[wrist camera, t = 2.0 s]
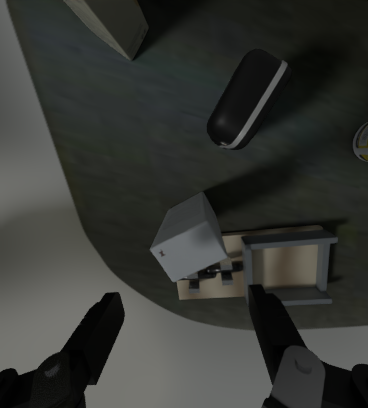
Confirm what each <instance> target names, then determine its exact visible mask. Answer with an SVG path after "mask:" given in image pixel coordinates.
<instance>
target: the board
mask: <svg viewBox="0 0 368 408" xmlns="http://www.w3.org/2000/svg"><path fill="white" fill-rule="evenodd" d="M312 230H323V227H321V226H320V225H312V226H301V227H289V228H278V229H267V230H256V231H244V232H233V233H222V234H221V235H222V238H223V241H224V245H225V248H226V251H227V254H228V255H229V256H230V259H231V263H232V264H236V263H239V264H241V265H242V266H243V264H242V246H241V237H243V236H254V235H266V234H277V233H289V232H301V231H312ZM317 254H318V245H305V246H292V247H279V248H266V249H254V250H251V255H252V279H253V284H262V286H263V288H264V290H265V289H284V288H302V287H315V285H316V269H317ZM212 265H220V262H217V263H215V264H212ZM199 271H206V268H204V269H202V270H199ZM231 274H232V278H233V284H234V285H224V286H222V280H221V274H220V273H217V276H216V277H215V278H212V279H200V293H192V294H189V280H180V281H177V287H178V292H179V298H180V300H181V299H201V298H220V297H240V296H245V295H244V281H243V270H242V271H240V272H231Z"/></svg>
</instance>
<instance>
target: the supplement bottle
mask: <svg viewBox="0 0 368 408" xmlns="http://www.w3.org/2000/svg"><path fill="white" fill-rule="evenodd" d="M353 150H354V153H355V154H356V156H357V157H358V158H359V159H361V160H363V161H366V162H368V122H366V123H365V124H364V125H362V126H361V127H360V129H359V130H358V131H357V133H356V134H355V137H354V139H353Z"/></svg>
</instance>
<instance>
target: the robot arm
mask: <svg viewBox="0 0 368 408" xmlns="http://www.w3.org/2000/svg"><path fill="white" fill-rule="evenodd" d="M248 301H249V311H250V316H251V319H252V322H253V326H254V329H255V332H256V335H257V338H258V341H259V345H260V348H261V351H262V354H263V357H264V360H265V363H266V367H267V370H268V373H269V376H270V379H271V382H272V385H273V388H272V391H271V393H270V396H269V398H266V399H265V400H264V403H263V405H262V408H368V365H367V364H357V365H355V366H354V367H353V368H352V371H349V370H346V369H342V368H339V367H335V366H332V365H329V364H327V363H325V362H323V361H321V360H320V359H319V358H318V357H317V356H316V355H315V354H314V353H313V352H311V351H310V350H309V349H308V348H307V347H306V345H305V343H304V341H303V340H302V338H301V336H300V334H299V333H298V331H297V329H296V327H295V325H294V323H293V322H292V320H291V318H290V317H289V314H288V312H287V311H286V310H285V307H284V305H283V303H282V302H281V300H280V299H279V298H278V297H277V296H276V295H274V294H273V293H266V292H265V290H264V288H263V286H262V284H252V285H248ZM124 317H125V312H124V308H123V304H122V301H121V297H120V294H119V293H118V292H113V293H105V295H104V296H103V298H102V299H101V301H100V302H97V303H96V304H95V305H93V307H91V308H90V309H89V311H88V312H87V313H86V315H85V316H84V319H82V321H81V322H80V324H79V325H78V327H77V328H76V330H75V331H74V332H73V334H72V335H71V337H70V338H69V340H68V341H67V343H66V344H65V345H64V347H63V348H62V350H61V351H60V352H58V353H55V354H53V355H52V356H50V357H48V358H47V359H46V360H44V362H42V363H41V365H40V366H39V367H38V368H37V369H36V370H33V371H30V372H27V373H24V374H22V375H18V373H17V371H16V370H15V369H13V368H10V369H5V370H3V371H1V372H0V408H86V402H85V395H84V391H85V389H86V387H87V385H96V384H97V382H98V379H99V377H100V375H101V373H102V370H103V368H104V366H105V363H106V361H107V359H108V356H109V354H110V352H111V350H112V347H113V345H114V343H115V340H116V338H117V336H118V333H119V331H120V329H121V326H122V324H123V322H124Z"/></svg>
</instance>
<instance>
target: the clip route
mask: <svg viewBox="0 0 368 408" xmlns="http://www.w3.org/2000/svg"><path fill="white" fill-rule="evenodd" d="M219 262H220V265H210V266H208V267H206V271H197V272H195V273H193V274H191V275H189V276H187V277H184V278H182V279H180V280H189V294H192V293H200V279H212V278H215V277H216V276H217V273H220V274H221V280H222V286H224V285H234V284H233V278H232V274H231V272H240V271H242V270H243V266H242V265H241V264H239V263H236V264H232V263H231V259H230V256H229V255H228V258H226V259H223V260H221V261H219ZM180 280H178V281H180Z"/></svg>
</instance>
